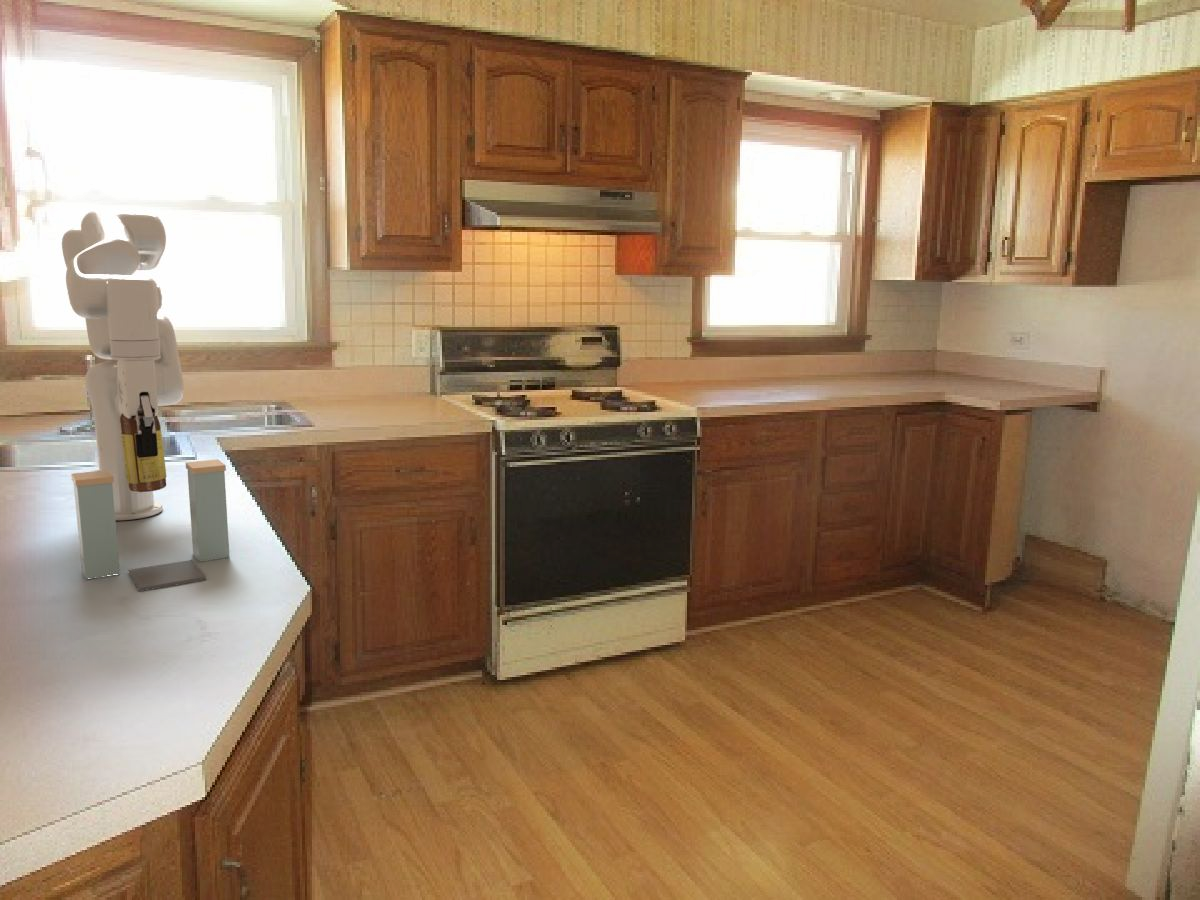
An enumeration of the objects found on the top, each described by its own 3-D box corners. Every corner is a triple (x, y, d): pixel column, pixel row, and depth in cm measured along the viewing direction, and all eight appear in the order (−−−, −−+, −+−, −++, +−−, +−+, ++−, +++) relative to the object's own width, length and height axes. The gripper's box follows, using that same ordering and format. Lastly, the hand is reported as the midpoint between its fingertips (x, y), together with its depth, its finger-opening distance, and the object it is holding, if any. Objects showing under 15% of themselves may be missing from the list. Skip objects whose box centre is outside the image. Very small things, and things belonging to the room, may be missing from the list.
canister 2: (191, 554, 159) (185, 462, 155) (223, 549, 162) (217, 459, 158) (198, 562, 154) (192, 468, 151) (230, 557, 158) (225, 465, 154)
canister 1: (80, 571, 148) (71, 473, 145) (116, 565, 152) (108, 470, 148) (84, 580, 144) (75, 480, 141) (121, 574, 147) (113, 476, 144)
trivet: (128, 573, 148) (128, 569, 148) (192, 563, 154) (191, 559, 154) (139, 591, 140) (138, 587, 140) (205, 579, 146) (205, 576, 146)
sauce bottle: (173, 485, 158) (165, 375, 154) (157, 493, 152) (148, 379, 148) (136, 484, 158) (127, 374, 154) (118, 493, 152) (109, 378, 148)
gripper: (103, 347, 155) (111, 447, 158) (119, 355, 141) (128, 464, 145) (150, 346, 159) (157, 443, 163) (170, 353, 146) (177, 459, 149)
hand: (143, 452), depth 154 cm, fingers closed on sauce bottle, 6 cm apart
